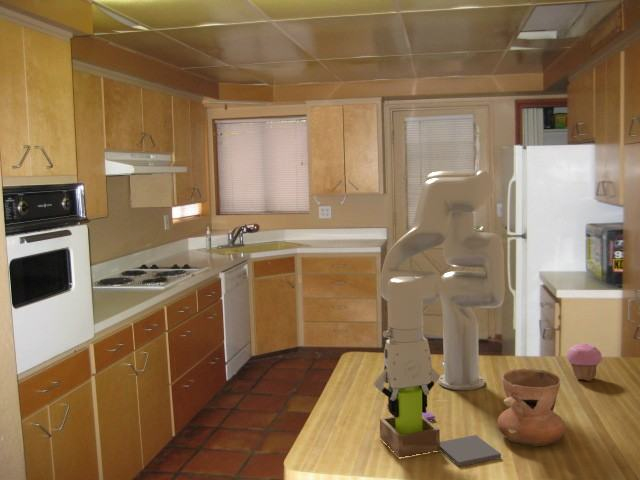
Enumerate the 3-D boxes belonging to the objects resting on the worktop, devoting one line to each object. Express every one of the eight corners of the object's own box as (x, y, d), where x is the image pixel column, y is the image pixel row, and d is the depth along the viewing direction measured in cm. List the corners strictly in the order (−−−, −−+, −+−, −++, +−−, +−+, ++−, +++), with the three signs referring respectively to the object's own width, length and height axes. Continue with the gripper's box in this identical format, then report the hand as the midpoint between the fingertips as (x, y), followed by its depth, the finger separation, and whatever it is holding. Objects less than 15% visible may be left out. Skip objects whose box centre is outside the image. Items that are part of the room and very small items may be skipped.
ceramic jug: (535, 461, 137) (535, 395, 135) (480, 438, 148) (479, 378, 146) (584, 436, 147) (585, 374, 145) (529, 417, 159) (529, 360, 157)
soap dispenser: (425, 440, 149) (425, 354, 146) (419, 453, 142) (419, 364, 140) (399, 437, 151) (399, 352, 148) (393, 450, 144) (392, 361, 142)
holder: (380, 439, 150) (379, 418, 149) (418, 432, 153) (417, 411, 152) (399, 459, 140) (398, 437, 139) (440, 451, 143) (439, 429, 142)
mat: (435, 446, 145) (435, 442, 145) (476, 439, 148) (475, 435, 148) (458, 466, 136) (458, 462, 135) (500, 458, 139) (500, 453, 138)
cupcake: (604, 376, 184) (604, 341, 183) (598, 386, 177) (598, 350, 175) (570, 372, 189) (570, 338, 187) (563, 381, 181) (563, 346, 180)
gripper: (375, 343, 137) (378, 425, 139) (449, 333, 142) (451, 413, 144) (362, 334, 144) (365, 413, 146) (433, 325, 149) (435, 401, 151)
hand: (408, 412), depth 145 cm, fingers closed on soap dispenser, 5 cm apart
